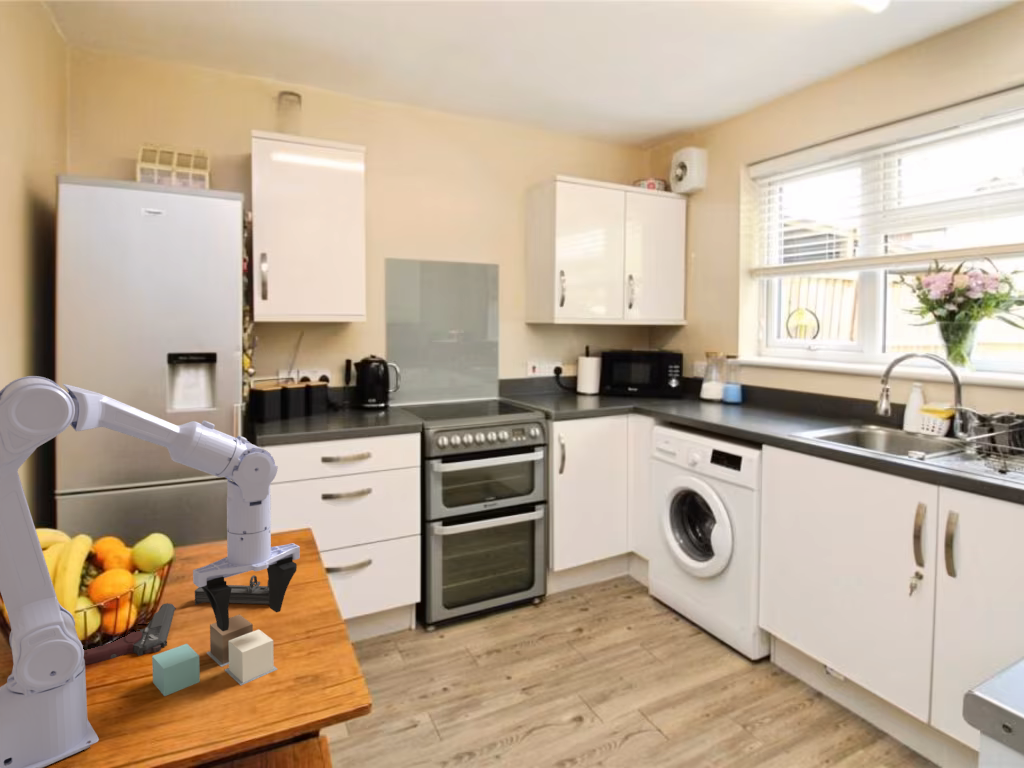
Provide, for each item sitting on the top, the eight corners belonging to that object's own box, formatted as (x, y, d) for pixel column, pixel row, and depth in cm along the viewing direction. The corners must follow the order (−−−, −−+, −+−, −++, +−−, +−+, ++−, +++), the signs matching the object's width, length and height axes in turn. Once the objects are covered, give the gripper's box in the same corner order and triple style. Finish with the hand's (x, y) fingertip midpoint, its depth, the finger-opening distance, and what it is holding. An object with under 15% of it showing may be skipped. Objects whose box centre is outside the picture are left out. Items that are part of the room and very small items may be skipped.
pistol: (95, 626, 98) (176, 613, 103) (70, 674, 85) (165, 656, 90) (94, 612, 98) (176, 599, 103) (69, 657, 84) (165, 640, 89)
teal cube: (164, 700, 79) (163, 668, 78) (153, 686, 82) (152, 655, 81) (199, 685, 82) (199, 655, 82) (187, 672, 85) (186, 643, 85)
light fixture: (204, 599, 108) (203, 571, 108) (283, 602, 108) (283, 573, 108) (194, 607, 105) (193, 578, 105) (276, 610, 105) (275, 580, 104)
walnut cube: (222, 664, 86) (222, 635, 86) (210, 652, 89) (209, 624, 89) (253, 652, 90) (252, 624, 89) (240, 641, 93) (239, 614, 92)
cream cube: (242, 682, 82) (242, 652, 82) (229, 669, 85) (228, 640, 85) (273, 669, 85) (273, 640, 85) (259, 657, 88) (258, 629, 88)
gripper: (207, 548, 75) (208, 648, 76) (310, 522, 86) (310, 610, 87) (186, 534, 80) (188, 629, 81) (286, 512, 91) (286, 595, 92)
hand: (249, 618), depth 85 cm, fingers open, 7 cm apart
